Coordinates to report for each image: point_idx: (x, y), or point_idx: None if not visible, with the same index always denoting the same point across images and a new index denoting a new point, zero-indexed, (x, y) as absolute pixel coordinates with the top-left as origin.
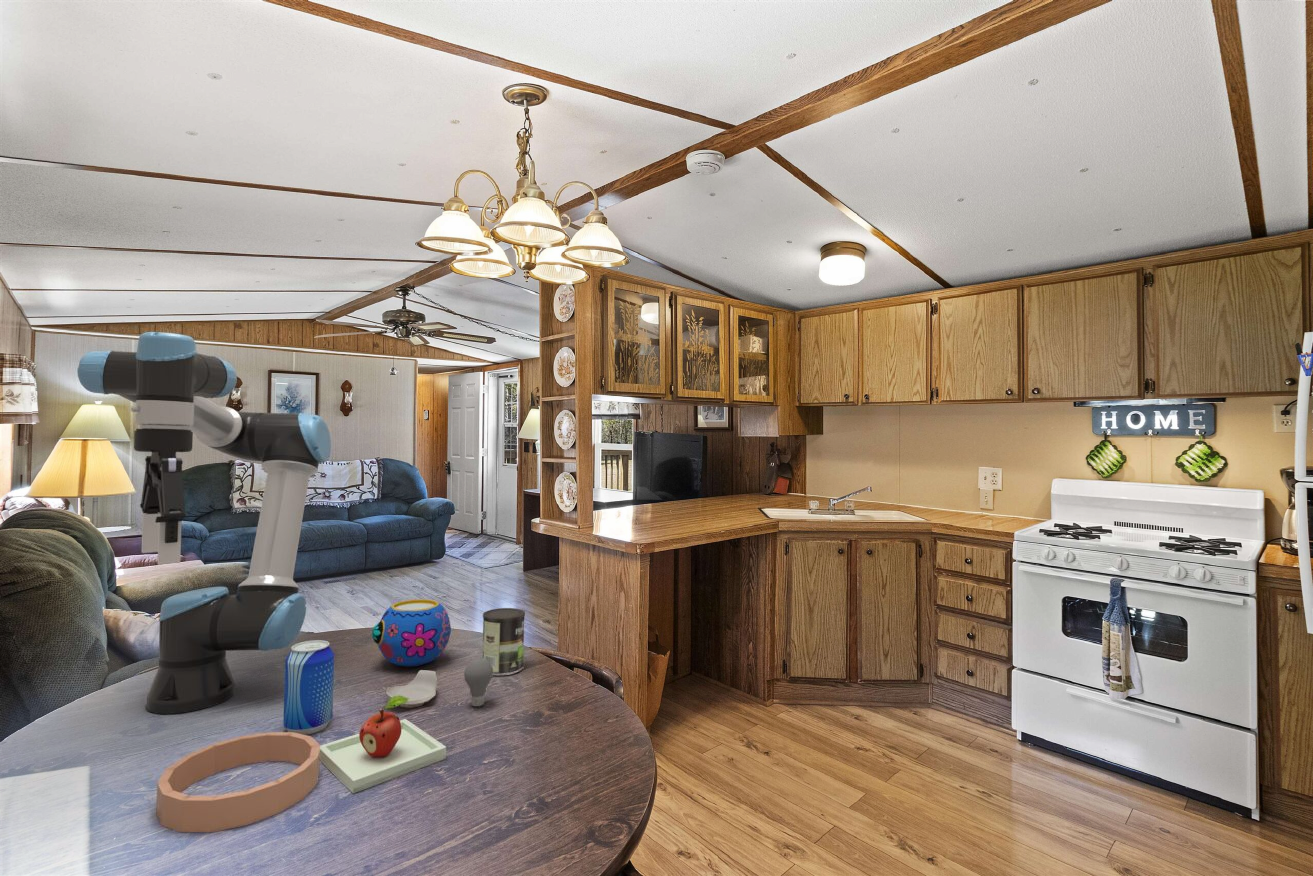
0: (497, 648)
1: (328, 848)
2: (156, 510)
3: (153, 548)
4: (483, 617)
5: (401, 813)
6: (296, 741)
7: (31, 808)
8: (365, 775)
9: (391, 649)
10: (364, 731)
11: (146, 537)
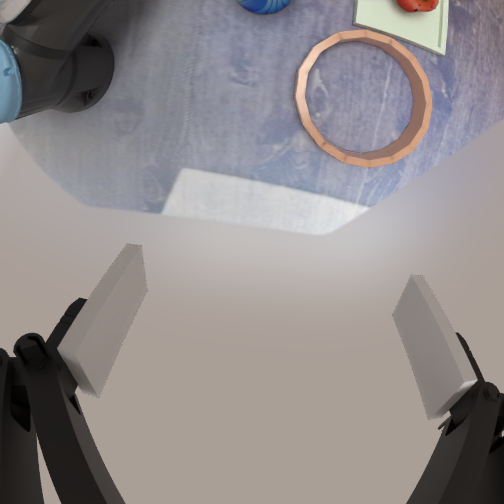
0: None
1: (479, 115)
2: (61, 377)
3: (139, 274)
4: None
5: (483, 63)
6: (353, 38)
7: (240, 213)
8: (444, 44)
9: None
10: (418, 10)
11: (128, 319)
